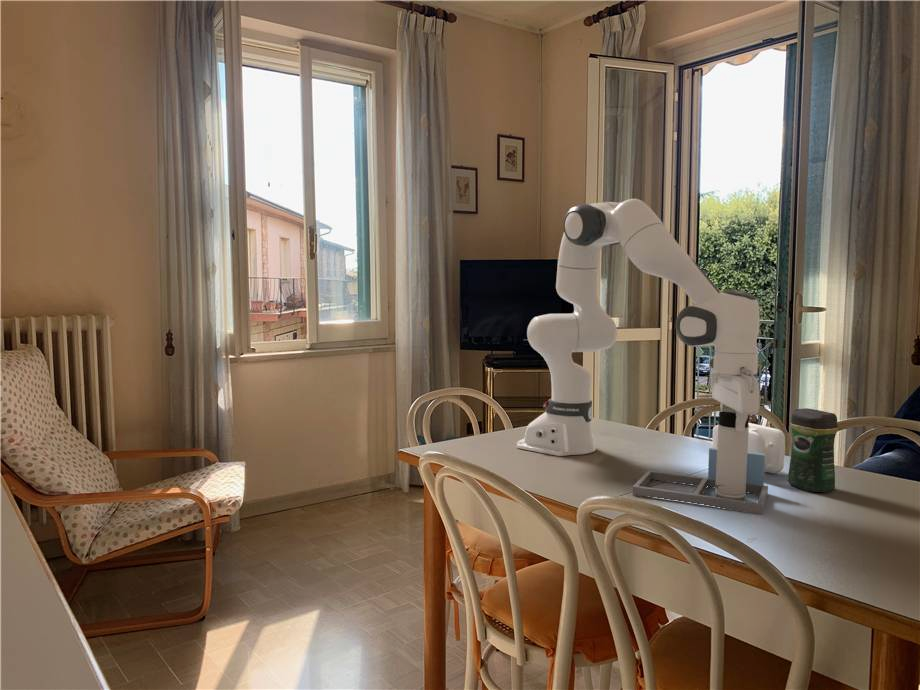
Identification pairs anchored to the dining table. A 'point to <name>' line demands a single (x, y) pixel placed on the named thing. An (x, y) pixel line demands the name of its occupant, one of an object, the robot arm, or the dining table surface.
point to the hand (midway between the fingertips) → (732, 427)
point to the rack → (710, 485)
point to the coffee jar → (813, 450)
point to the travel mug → (731, 458)
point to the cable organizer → (763, 445)
